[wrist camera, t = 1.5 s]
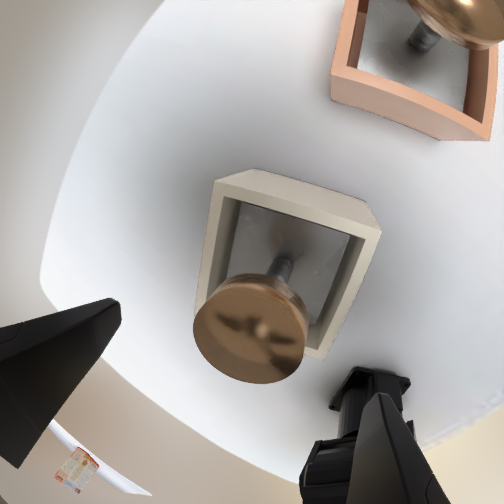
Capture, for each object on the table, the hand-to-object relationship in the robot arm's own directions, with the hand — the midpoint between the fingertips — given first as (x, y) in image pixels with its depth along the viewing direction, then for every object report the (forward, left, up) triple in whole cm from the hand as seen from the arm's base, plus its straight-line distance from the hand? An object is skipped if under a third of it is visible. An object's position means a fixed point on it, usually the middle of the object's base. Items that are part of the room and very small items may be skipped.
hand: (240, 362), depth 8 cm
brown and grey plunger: (+14, -4, -9) cm, 17 cm away
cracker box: (-117, +51, -13) cm, 129 cm away
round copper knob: (0, 0, -9) cm, 9 cm away
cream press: (0, 0, -13) cm, 13 cm away
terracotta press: (+14, -4, -13) cm, 19 cm away
